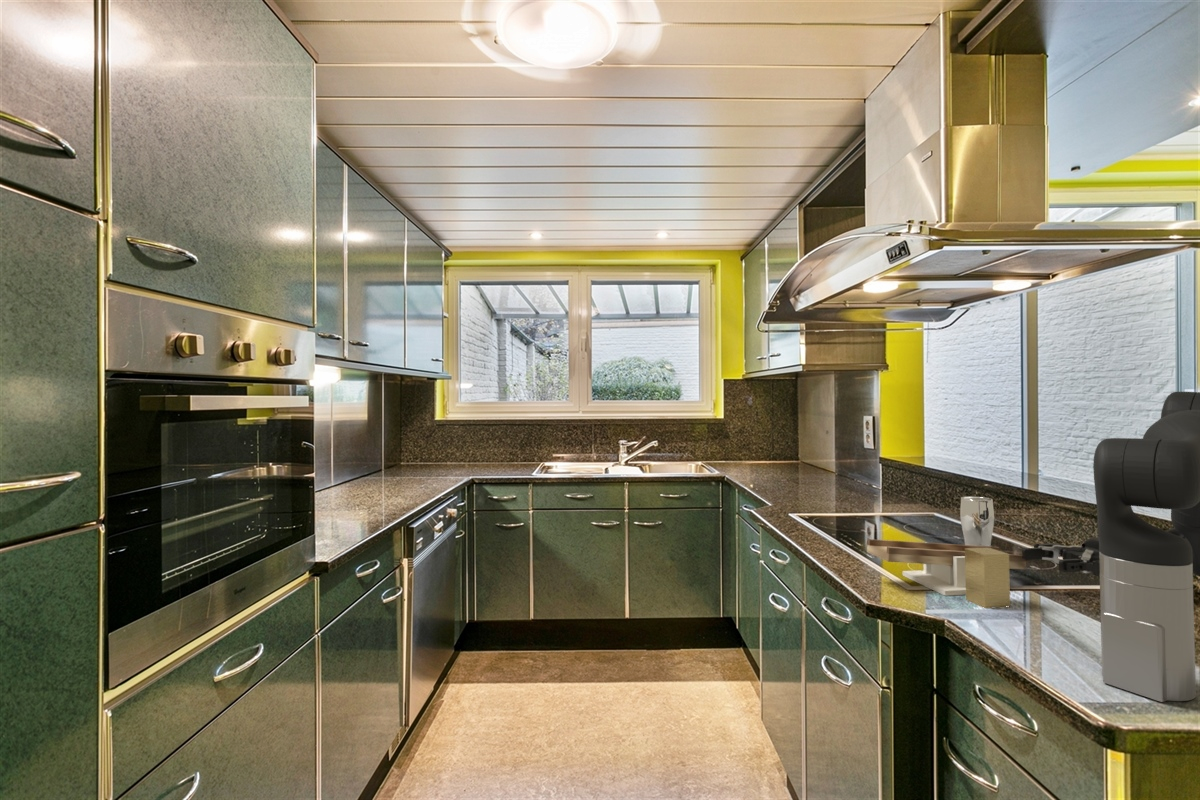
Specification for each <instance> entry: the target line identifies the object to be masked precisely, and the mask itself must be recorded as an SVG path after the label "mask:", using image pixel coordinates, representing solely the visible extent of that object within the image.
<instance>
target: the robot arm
mask: <svg viewBox="0 0 1200 800" xmlns="http://www.w3.org/2000/svg"><path fill="white" fill-rule="evenodd" d="M1092 465H1093V466H1092V468H1093V481H1094V483H1093V484H1094V491H1095V500H1096V501H1095V502H1096V515H1097V516H1096V518H1097V533H1098V534H1097V535H1098V537H1097V536H1096V537H1090V538H1087V539H1086V540H1085V541H1083V543H1082V544H1081V545H1073V544H1072V545H1065V544H1064V543H1061V542H1056V543H1052V542H1051V543H1049V542H1048V543H1047V542H1046V543H1034V544H1033V547H1026V548H1025V547H1023V548H1022V549H1021V555H1022V558H1023V559H1025V560H1026V561H1033V560H1034V561H1037V560H1042V561H1043V560H1045V561H1053V563H1055V564H1058V571H1060V572H1061V573H1076V572H1077V573H1079V572H1080V573H1083V574H1092V575H1094V576H1096V577H1099V596H1100V598H1099V603H1100V605H1099V606H1100V610H1099V611H1100V647H1101V650H1100V652H1101V675H1102V681H1103V682H1102V683H1104V684H1108V685H1110V686H1114V687H1115V688H1119V689H1122V690H1125V691H1128V692H1131V693H1133V694H1136V695H1139V696H1143V697H1146V698H1148V699H1152V700H1154V701H1158V702H1160V703H1164V702H1166V701H1174V702H1187V701H1191V700H1194V699H1196V695H1197V685H1196V684H1197V683H1196V677H1197V676H1196V651H1195V650H1196V649H1195V647H1196V646H1195V619H1194V618H1195V617H1194V615H1195V614H1194V613H1195V612H1194V609H1195V608H1194V575H1195V576H1198V577H1200V392H1197V391H1173V392H1171V393H1170V394H1169V395H1168V396H1167V397H1166V399H1165V400H1164V401H1163V405H1162V408H1161V412H1160V418H1159V419H1158V420H1156V421H1155V422H1154V423H1153V424H1151V425H1150V426H1149V427H1148V428H1147V430H1146V431H1145V433H1144V434H1143V437H1142V438H1134V437H1133V438H1128V437H1125V438H1123V437H1113V438H1112V437H1111V438H1110V437H1109V438H1104V439H1103V440H1101V441H1100V442H1099V443H1098V445H1097V446H1096V448H1095V451H1094V455H1093V464H1092ZM1133 507H1139V508H1149V509H1150V508H1153V509H1163V510H1170V520H1171V524H1172V526H1173V527H1172V528H1169V529H1166V530H1164V529H1161V528H1159V527H1157V526H1154V525H1153V524H1151V523H1149V522H1147V521H1146V520H1144V519H1142V518H1141V517H1139V516H1138V515H1137V514H1136V513H1135V512H1134V510H1133ZM1061 557H1062V559H1060V558H1061Z"/></svg>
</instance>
